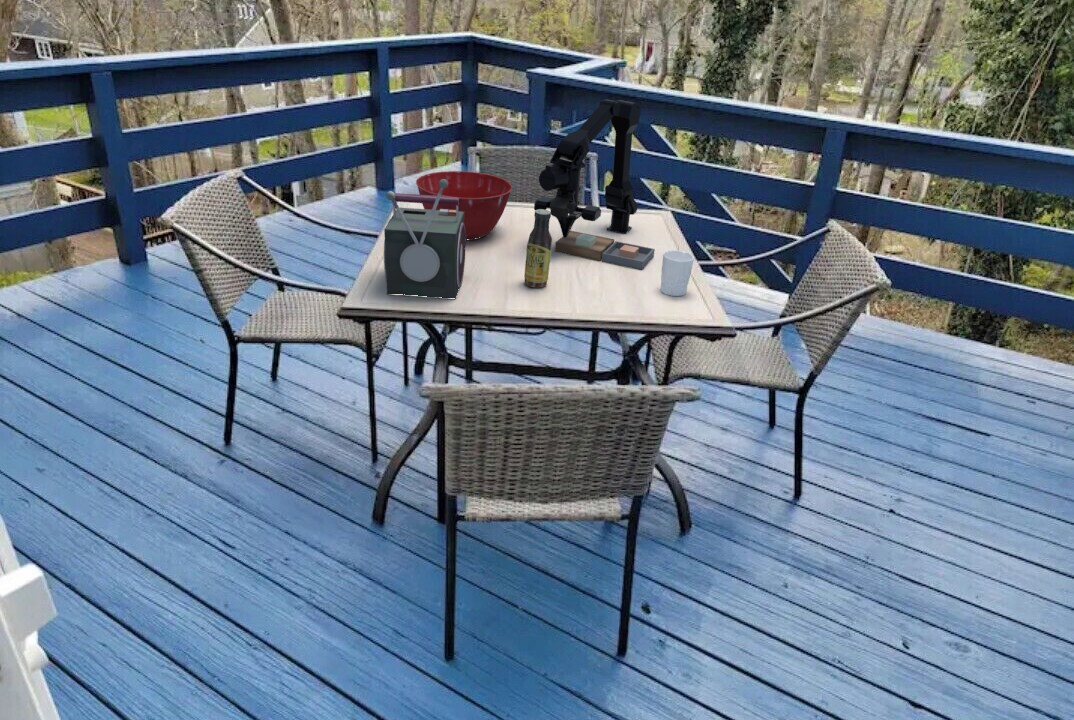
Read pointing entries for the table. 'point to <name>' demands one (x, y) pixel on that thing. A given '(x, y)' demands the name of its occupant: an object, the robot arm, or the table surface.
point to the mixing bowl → (470, 197)
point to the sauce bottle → (538, 251)
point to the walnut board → (592, 252)
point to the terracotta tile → (628, 251)
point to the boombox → (424, 246)
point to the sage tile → (585, 240)
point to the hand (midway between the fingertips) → (565, 237)
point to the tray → (637, 263)
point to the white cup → (676, 272)
